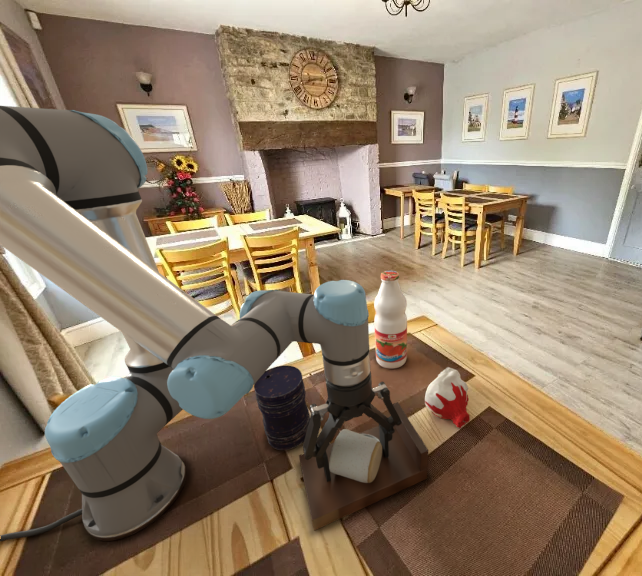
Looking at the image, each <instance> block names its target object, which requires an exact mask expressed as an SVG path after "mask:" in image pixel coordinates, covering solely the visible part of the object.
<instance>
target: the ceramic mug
mask: <svg viewBox="0 0 642 576" xmlns="http://www.w3.org/2000/svg"><path fill="white" fill-rule="evenodd" d="M359 433H360V432H356V431H353V430H350V429H348V428H342V429H341V431H339V433H338V435H337V436H336V438H335V440H334V442H333V443H334V444H333V447H332V450H331V455H330V460H329V469H330V472H331V473H334V474H337V475H341V476H344V477H347V478H350V479H354V480H357V481H360V482H364V483H371V482H372V481H373V480H374V479H375V477H376V475H377V472H378V469H379V465H380V461H381V457H382V445H381V443H380V441H379V440H378V439H377V438H376V437H374V436H372V435H369V434H359Z"/></svg>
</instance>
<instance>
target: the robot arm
mask: <svg viewBox="0 0 642 576" xmlns="http://www.w3.org/2000/svg"><path fill="white" fill-rule="evenodd" d="M148 171H149V170H148V165H147V161H146V158H145V155H144V153H143V151H142V149H141V148H140V146H139V145H138V143H137V141H136V140H135V139H134V138H133V137H132V135H131V134H130V133H129V132H128V131H127V130H126V129H125V128H123V127H121V126H120V125H119V124H118V123H117V122H115V121H114V120H112V119H110V118H108V117H107V116H103V115H101V114H97V113H96V114H95V113H89V112H82V111H78V110H75V109H57V108H55V109H54V108H43V107H42V108H40V107H25V106H10V105H0V246H1V247H2V248H4V249H5V250H7V251H8V252H9V253H11V254H12V255H14V256H15V257H17V259H19V260H21V261H23V263H25V264H26V265H28V266H29V267H31V268H32V269H33V270H35V271H36V272H37V273H38V274H40V275H42V277H44V278H46V279H47V280H48V281H50V282H52V283H53V284H54V285H56V286H57V287H58V288H60V289H61V290H62V291H63V292H65V293H66V294H68V295H70V296H71V297H72V298H74V299H75V300H77V302H79V303H81V304H82V305H83V306H85V307H86V308H88V309H89V310H90V311H92V312H93V313H94V314H96V315H97V316H99V317H100V318H101V319H103V320H104V321H105V322H107V323H109V324H110V325H111V326H112V327H115V328H116V329H117V330H118V331H120V332H121V333H122V335H123V338H124V339H125V341H126V344H127V346H128V347H129V351H127V354H126V355H125V357H124V363H125V365H126V367H127V370H128V371H129V374H127V375H126V376H124V377H118V376H117V377H116V376H115V377H109V378H104V379H101V380H98V382H97V383H95V384H93V383H91V384H88V385H87V386H84V387H82V388H81V389H79V390H77V391H76V392H74V393H72V394H71V395H70V396H68V397H67V398H66V399H65V400H64V401H62V402H61V403H60V404H59V405H58V406H57V407H56V408H55V409H54V410H53V411H52V413H51V415H50V416H49V418H48V420H47V422H46V426H45V427H44V438H45V440H46V442H47V443H48V446H49V447H50V453H51V455H52V456H53V458H54V459H55V460H56V461H58V462H59V463H60V464H61V466H62V467H63V469H64V470H65V471H66V474H68V476H69V478H70V479H71V480H72V481H73V483H74V485H75V486H76V487H77V489H78V490H79V492H80V493H81V508H80V509H77V510H76V511H74V512H72V513H69V514H68V515H66V516H64V517H62V518H60V519H57V520H55V521H54V522H51V523H50V524H47V525H45V526H41V527H37V528H32V529H27V530H22V531H20V530H19V531H14V532H9V533H4V534H1V535H0V536H1V539H0V542H5V541H10V540H18V539H22V538H23V539H24V538H29V537H33V536H38V535H40V534H43V533H47V532H50V531H52V530H54V529H56V528H58V527H60V526H61V525H64V524H65V523H67V522H69V521H71V520H73V519H76V518H78V517H80V516H81V519H82V524H83V526H84V528H85V530H86V531H87V533H88V534H89V535H90V537H92V538H93V539H95V540H97V541H103V542H112V541H117V540H121V539H124V538H127V537H129V536H132V535H134V534H136V533H138V532H140V531H141V530H144V529H145V528H147V527H148V526H150V525H151V524H152V523H154V522H155V521H157V520H158V519H159V518H160V517H161V516H162V515H164V514H165V513H166V512H167V511H168V509H169V508H170V507H171V506H172V505H173V504H174V503H175V502H176V500H177V499H178V497H179V495H180V494H181V492H182V490H183V488H184V485H185V483H186V479H187V469H186V466H185V463H184V462H183V460H182V459H181V458H180V457H179V455H178V454H176V453H175V452H173V451H172V450H170V449H169V448H167V447H166V446H165V445H163V444H162V443H161V441H160V438H159V437H158V433H159V432H160V431H161V430H162V429H164V427H166V426H167V425H168V424H169V423H170V422H171V421H172V420H173V419H174V418H175V417H176V416H177V415H179V414H180V413H181V412H182V411H184V412H186V413H187V414H190V415H191V416H194V417H196V418H199V419H202V420H203V419H205V420H215V419H218V418H220V417H222V416H224V415H226V414H227V413H228V412H230V410H231V409H232V408H233V407H235V405H236V404H237V403H238V402H239V401H241V399H242V398H244V396H246V395H247V394H249V393H250V392H251V391H252V390H253V389H254V384H255V383H256V382H257V381H258V379H259V378H260V377H261V376H262V375H263V374H264V373H265V371H267V370H269V369H270V367H271V366H272V365H273V364H274V363H275V361H276V360H278V359H279V357H280V356H282V354H283V353H284V352H285V351H286V349H288V348H289V346H290V345H291V344H292V343H294V342H295V343H297V342H298V343H305V344H317V345H320V351H321V356H322V365H323V372H324V376H325V377H324V378H325V386H326V394H327V399H326V401H325V403H323V404H320V405H317V404H316V403H311V404H310V405H309V413H310V421H309V424H308V428H307V432H306V436H305V439H304V442H303V443H302V450H303V454H304V456H305V459H306V460H309V459H311V458H312V457H315V458H316V463H317V467H318V468H319V469H320V468H323V467H324V472H325V476H326V479H327V482H328V481H331V476H330V469H329V463H328V456H327V453H326V449H327V447H328V446H329V444H331V443H332V440H333V439H334V437H335V435H336V433H337V432H338V430H339V429H341V428H342V426H343V425H344V423H345V422H348V421H351V420H352V419H355V418H360V417H363V415H365V416H367V417H368V418H369V419H370V418H371V419H372V420H373V421H374V422H376V423H377V424H378V426H379V435H380V443H381V445H382V452H383V454H384V456H385V458H387V457H389V446H388V441H390V440H392V434H393V433H394V432H395V430H394V428H393V427H394V426H395V425H397V426H398V425H400V424H401V423H402V421H401V419H400V417H399V415H398V414H397V412H396V410H395V408H394V406H393V404H394V403H393V402H392V400H391V391H390V389H389V387H388V386H387V385H386V383H385V382H384V381H380V382H379V383H378V385H377V386H375V387H373V381H372V372H371V371H372V370H371V369H372V368H371V367H372V366H371V350H370V332H369V331H370V329H369V328H370V327H369V316H370V314H369V309H368V303H367V296H366V295H367V294H366V291H365V289H364V287H363V285H361V284H360V283H358V282H356V281H353V280H348V279H340V280H339V279H338V280H328V281H326V282H324V283H322V284H320V285H319V286H318V287H316V289H315V291H314V294H313V293H312V294H311V293H304V292H292V291H285V290H278V289H270V290H269V289H268V290H263V289H261V290H260V289H259V290H255V291H253V292H251V293H249V294H248V295H247V296H246V297H245V301H244V302H243V303H242V304H241V306H240V309H239V319H237V320H236V321H235V322H233V323H232V324H229V323H228V322H226V321H225V320H224V319H222V318H220V317H219V316H218V315H216V314H215V313H214V312H212V311H211V310H210V309H208V308H207V307H206V306H204V305H203V304H201V303H200V302H199V301H197V300H196V299H195V298H194V297H193V296H191V295H190V294H188V293H187V292H186V291H184V290H183V289H182V288H180V287H179V286H178V285H177V284H175V283H174V282H172V281H171V280H170V279H168V277H166V276H164V275H163V274H162V273H160V271H159V268H158V265H157V263H156V261H155V259H154V258H155V257H154V255H153V253H152V251H151V248H150V246H149V243H148V240H147V238H146V235H145V232H144V231H143V228H142V225H141V223H140V221H139V218H138V215H137V210H138V209H139V207H140V205H141V204H142V202H143V199H142V196H141V194H140V192H139V189H140V188H142V187H143V185H144V184H146V182H147V175H148ZM375 397H377V398H378V399H379V400H381V401H382V402H383V404H384V406H385V407H386V410H387V411H388V413H389V415H390V416H386V415H385V414H384V413H383V412H382V411H381V410H379V409H378V408H377V407H376V406H374V405H373V404H372V402H373V401H374V399H375ZM326 413H329V414H328V417H327V420H326V422H324V425H323V427H322V429H321V426H322V421H324V418H325V416H326ZM320 430H321V431H320Z"/></svg>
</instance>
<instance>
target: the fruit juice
mask: <svg viewBox="0 0 642 576" xmlns="http://www.w3.org/2000/svg"><path fill="white" fill-rule="evenodd" d="M380 280H381V283H380V286H379V289H378V292H377V294H376V296H375V298H374V299H373V300H374V301H373V307H374V311H375V314H374V321H373V322H374V323H373V324H374V325H373V326H374V347H375V348H374V349H375V360H376V363H377V364H378V365H379V366H380V367H382V368H385V369H398V368H401V367H402V366H404V365H405V363H406V362H407V358H408V316H407V314H406V310H407V307H408V302H407V298H406V296H405V294H404V293H403V291H402V288H401V285H400V283H399V280H400V273H399V272H398V271H395V270H385V271H382V272H381V273H380Z"/></svg>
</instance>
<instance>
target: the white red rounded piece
mask: <svg viewBox="0 0 642 576" xmlns="http://www.w3.org/2000/svg"><path fill="white" fill-rule="evenodd" d="M468 391H469V387H468V383H467V382H465V381H464V380H463V379H462V377H461V374H460V372H459V370H458V369H455V368H452V367H449V366H447V367H445V369H443V370H442V371H440V373H439V374H437V377H436V378H435V379H434V380H432V382H430V384H428V386H427V388H426V391H425V396H424V405H425V407H426V408H427V409H428V410H429V411H430V412H431V414H432V415H434V416H435V417H437V418H439V419H443V420H450V421H452V423H453V424H454V425H455V426H456V428H458V429H462V427H464V426H465V425H466V424H467V423H469V422H470V418H471V417H470V414H469V412H468V410H467V407H468V405H469V400H470V399H469V394H468Z"/></svg>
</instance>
